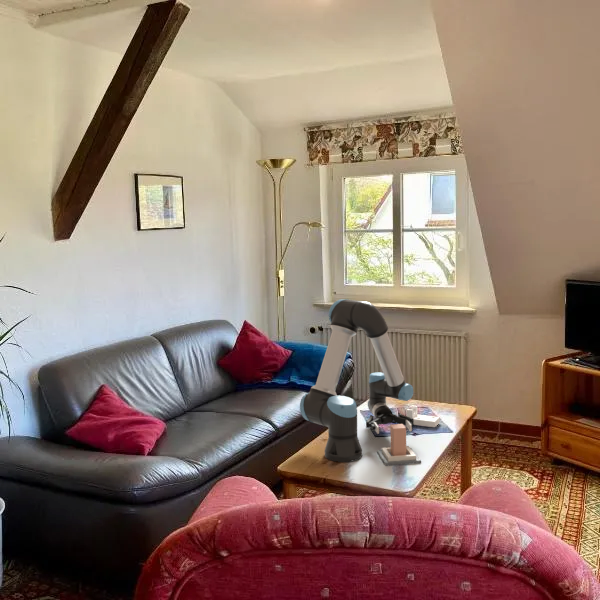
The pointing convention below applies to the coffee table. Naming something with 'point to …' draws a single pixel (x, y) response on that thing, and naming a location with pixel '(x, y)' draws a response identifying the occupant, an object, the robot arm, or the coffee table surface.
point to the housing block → (398, 439)
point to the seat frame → (398, 457)
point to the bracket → (422, 418)
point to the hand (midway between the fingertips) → (394, 429)
